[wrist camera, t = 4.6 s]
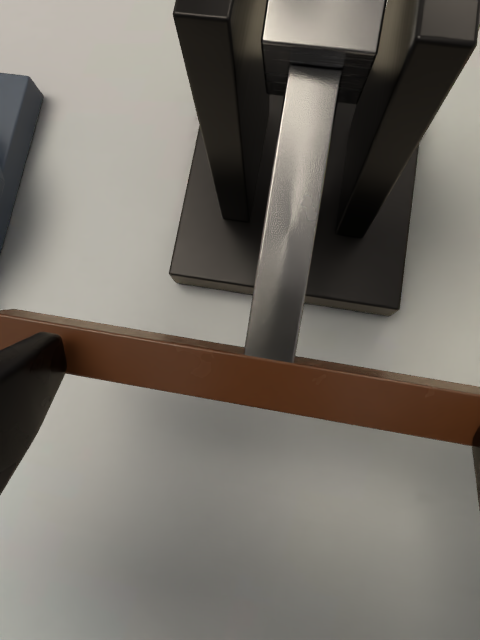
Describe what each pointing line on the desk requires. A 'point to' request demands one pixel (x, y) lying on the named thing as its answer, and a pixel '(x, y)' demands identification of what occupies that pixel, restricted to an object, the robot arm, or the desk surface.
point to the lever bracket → (344, 155)
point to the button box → (15, 137)
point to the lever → (280, 263)
